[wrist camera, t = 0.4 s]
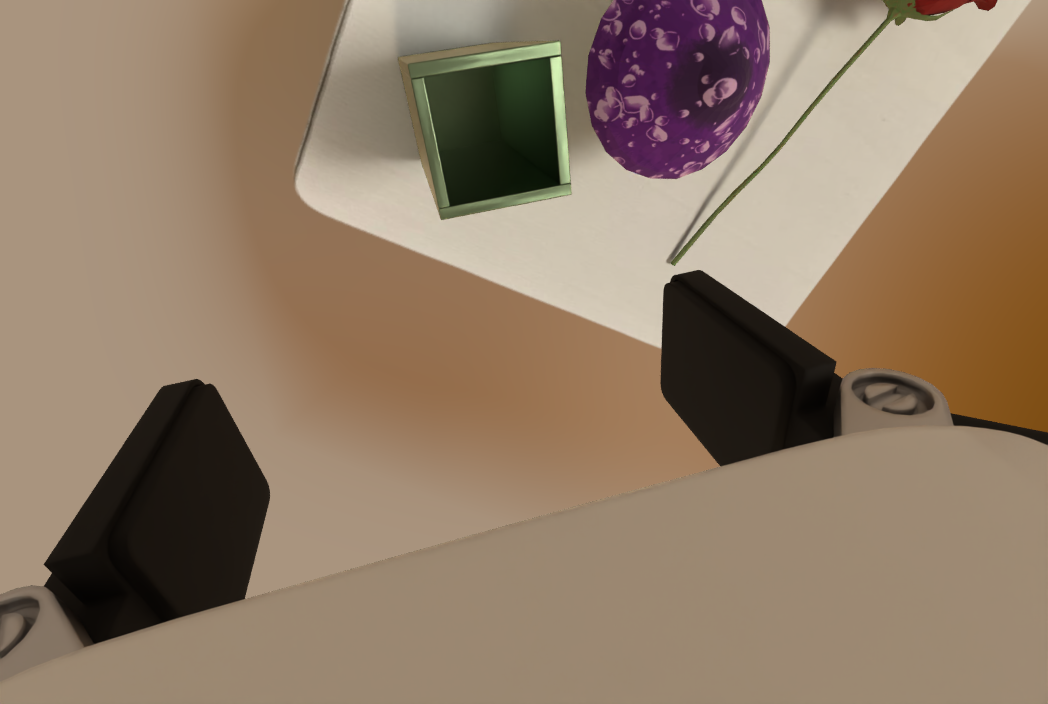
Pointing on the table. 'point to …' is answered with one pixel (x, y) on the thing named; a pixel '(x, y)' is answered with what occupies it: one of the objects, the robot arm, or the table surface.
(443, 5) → the table surface
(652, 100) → the decorative mushroom
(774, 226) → the table surface
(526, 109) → the box
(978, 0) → the flower
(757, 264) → the table surface
